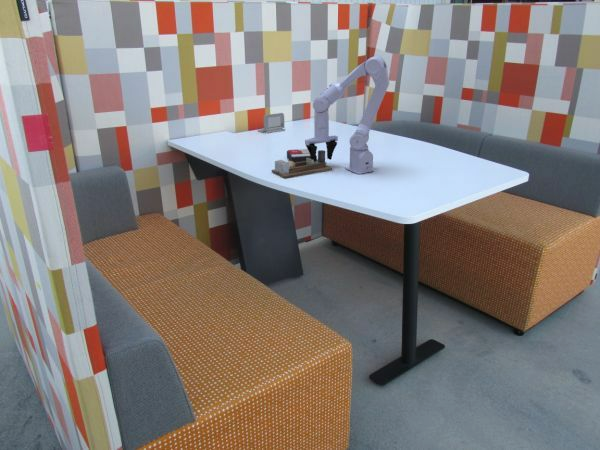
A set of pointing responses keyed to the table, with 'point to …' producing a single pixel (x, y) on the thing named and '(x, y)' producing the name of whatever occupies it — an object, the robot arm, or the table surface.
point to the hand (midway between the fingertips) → (321, 160)
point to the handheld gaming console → (273, 123)
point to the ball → (291, 164)
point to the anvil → (282, 167)
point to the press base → (304, 169)
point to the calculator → (298, 155)
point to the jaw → (320, 158)
